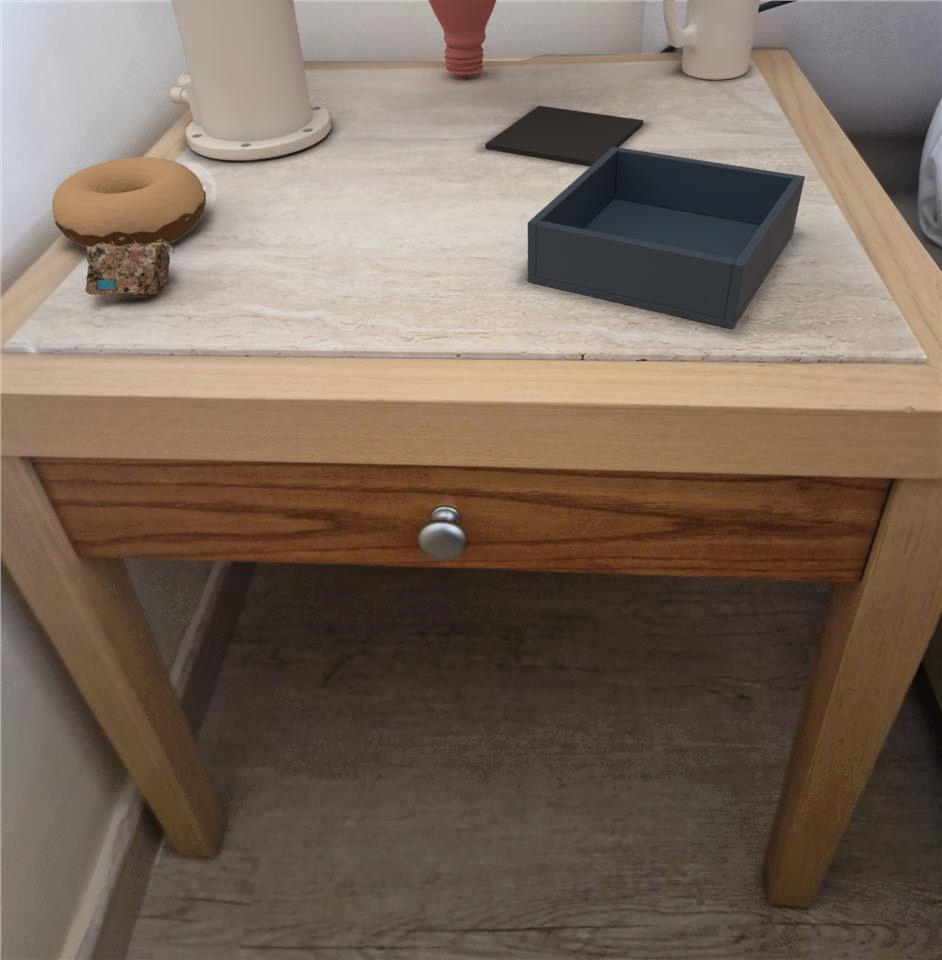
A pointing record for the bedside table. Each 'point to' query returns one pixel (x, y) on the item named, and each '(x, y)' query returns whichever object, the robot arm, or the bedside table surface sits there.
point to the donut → (129, 202)
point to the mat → (565, 135)
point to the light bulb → (463, 32)
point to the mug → (713, 36)
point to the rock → (127, 268)
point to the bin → (665, 234)
